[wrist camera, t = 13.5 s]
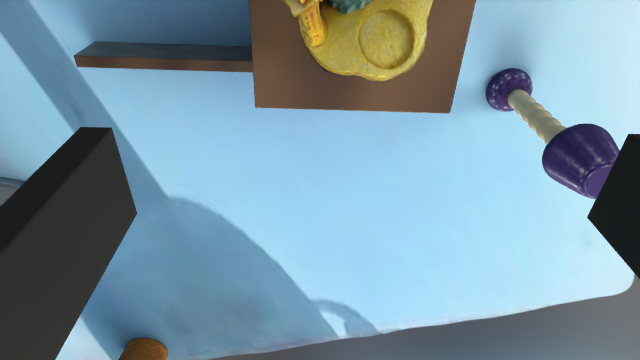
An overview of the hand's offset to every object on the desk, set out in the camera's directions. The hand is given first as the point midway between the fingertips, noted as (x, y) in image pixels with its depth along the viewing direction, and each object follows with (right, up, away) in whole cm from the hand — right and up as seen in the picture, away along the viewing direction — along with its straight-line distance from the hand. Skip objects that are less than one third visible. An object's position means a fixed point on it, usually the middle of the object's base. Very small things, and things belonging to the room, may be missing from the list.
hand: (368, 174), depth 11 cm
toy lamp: (+17, +9, +29) cm, 35 cm away
